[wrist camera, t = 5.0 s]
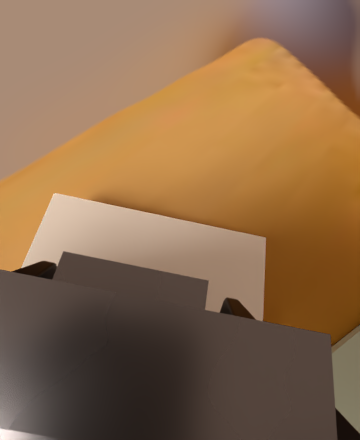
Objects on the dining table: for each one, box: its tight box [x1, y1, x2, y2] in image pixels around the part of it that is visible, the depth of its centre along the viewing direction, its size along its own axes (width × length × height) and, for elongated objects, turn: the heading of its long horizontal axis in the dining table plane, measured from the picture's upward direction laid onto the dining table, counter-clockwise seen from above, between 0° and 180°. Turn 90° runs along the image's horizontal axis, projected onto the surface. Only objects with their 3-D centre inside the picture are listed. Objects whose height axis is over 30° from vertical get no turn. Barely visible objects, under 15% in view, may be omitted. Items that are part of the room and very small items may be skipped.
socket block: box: [21, 193, 266, 321], centre depth 13 cm, size 12×12×3 cm
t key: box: [0, 251, 337, 440], centre depth 8 cm, size 3×6×12 cm, turn 80°
